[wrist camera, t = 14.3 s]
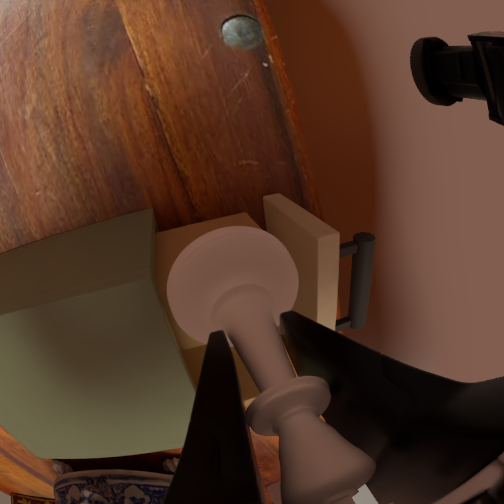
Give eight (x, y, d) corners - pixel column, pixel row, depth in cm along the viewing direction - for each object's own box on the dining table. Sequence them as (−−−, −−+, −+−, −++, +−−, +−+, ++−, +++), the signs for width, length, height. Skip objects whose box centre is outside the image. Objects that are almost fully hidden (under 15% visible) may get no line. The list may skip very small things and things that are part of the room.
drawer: (334, 183, 20) (405, 215, 14) (332, 309, 25) (379, 362, 19) (78, 240, 16) (44, 306, 10) (134, 365, 22) (137, 439, 15)
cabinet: (153, 207, 18) (151, 277, 10) (194, 349, 24) (218, 439, 16) (-16, 259, 15) (-74, 333, 7) (51, 377, 21) (38, 458, 13)
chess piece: (296, 317, 13) (431, 515, 4) (187, 349, 12) (256, 591, 3) (288, 211, 10) (540, 440, 2) (150, 245, 9) (201, 627, 1)
